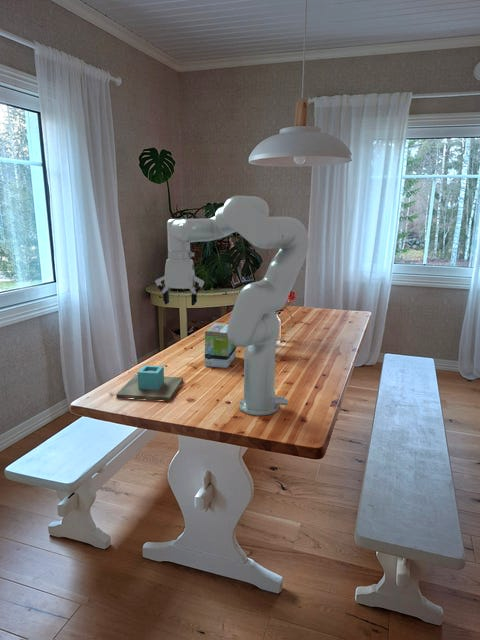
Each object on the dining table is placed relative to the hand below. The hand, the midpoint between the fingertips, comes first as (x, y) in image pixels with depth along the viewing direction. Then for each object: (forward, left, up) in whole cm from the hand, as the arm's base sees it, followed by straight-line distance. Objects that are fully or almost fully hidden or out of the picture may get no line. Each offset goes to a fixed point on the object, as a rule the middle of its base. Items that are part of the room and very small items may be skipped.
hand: (180, 304), depth 158 cm
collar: (+8, +11, -27) cm, 30 cm away
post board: (+8, +11, -28) cm, 31 cm away
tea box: (-11, -22, -29) cm, 38 cm away
